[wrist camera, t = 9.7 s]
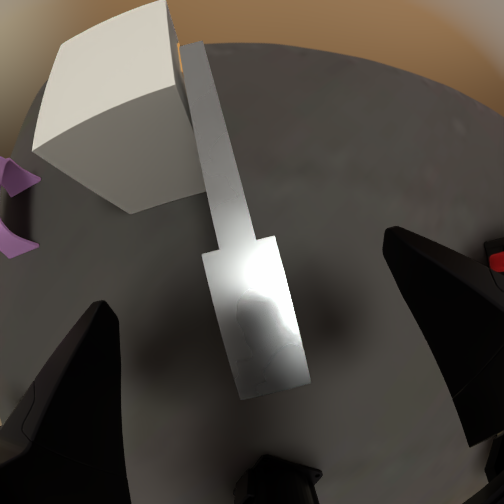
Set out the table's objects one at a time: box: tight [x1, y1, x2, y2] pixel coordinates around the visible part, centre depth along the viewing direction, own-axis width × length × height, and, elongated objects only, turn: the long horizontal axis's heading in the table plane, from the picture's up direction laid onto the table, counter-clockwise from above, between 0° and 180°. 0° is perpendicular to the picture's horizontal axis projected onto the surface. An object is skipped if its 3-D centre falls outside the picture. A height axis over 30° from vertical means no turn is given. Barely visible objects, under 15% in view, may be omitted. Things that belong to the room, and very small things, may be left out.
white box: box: [32, 0, 206, 214], centre depth 17 cm, size 11×8×13 cm
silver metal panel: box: [179, 41, 311, 400], centre depth 15 cm, size 15×2×12 cm, turn 14°
